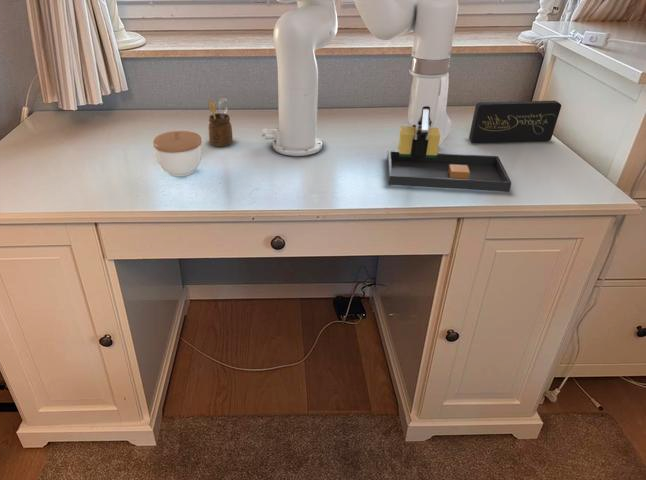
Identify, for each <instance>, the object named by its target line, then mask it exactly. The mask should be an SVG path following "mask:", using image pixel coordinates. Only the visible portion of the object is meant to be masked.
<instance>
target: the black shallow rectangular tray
mask: <svg viewBox="0 0 646 480" xmlns="http://www.w3.org/2000/svg"><path fill="white" fill-rule="evenodd" d="M386 161H387V163H386V164H387V182H388V183H387V184H388V186H403V187H419V188H438V189H452V190H453V189H454V190H469V191H470V190H471V191H486V192H487V191H489V192H504V193H505V192H506V193H507V192H508V193H509V192H510V190H511V186H512V181H511V179H510V177H509V175H508V173H507V170H506V169H505V167H504V165H503V163H502V160H501V159H500V156H498V155H483V154H482V155H481V154H480V155H479V154H462V153H461V154H460V153H441V152H438V153H437V158H427V157H425V158H417V157H402V156H399V150H387V158H386ZM449 164H454V165H467V166H468V168H469V171H470V175H469V179H460V178H450V176H449V172H448V168H449Z"/></svg>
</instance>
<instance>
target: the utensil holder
mask: <svg viewBox="0 0 646 480" xmlns="http://www.w3.org/2000/svg"><path fill="white" fill-rule="evenodd" d="M223 100H226V98H225V97H224V98H223V97H221V98H220V101H219V102H217V103H218V104H217V106H222V101H223ZM207 103H208V107H209V108H208V109H209V111H210V112H211V113H212V114H211V115H209V116H208V123H209V124H208V137H209V142H210V145H212V147H217V148H219V147H220V148H221V147H228V146H230V145H232V144H233V128H232V127H233V126H232V123H231V122H230V121H231V118H230V115H229V114H227V113H228V108H225V111H222V109H220V108H217V109H218V113H216V112H217V110H216V106H215V103H214V100H213V99H212V100H211V99H207Z"/></svg>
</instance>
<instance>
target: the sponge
mask: <svg viewBox="0 0 646 480" xmlns="http://www.w3.org/2000/svg"><path fill="white" fill-rule="evenodd" d="M419 130H421V128H418V131H419ZM414 136H415V127H412V126H405V125H404V126H403V125H402V126H400V131H399V139H398V149H397V150H398V151H399V156H402V157H411V149H412V141H413V139H414ZM439 141H440V133H439V129H438V128H435V127H429V135H428V146H427V153H426V157H427V158H437V153H439V147H440V146H439Z"/></svg>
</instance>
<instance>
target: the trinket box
mask: <svg viewBox="0 0 646 480" xmlns="http://www.w3.org/2000/svg"><path fill="white" fill-rule="evenodd" d="M202 142H203V141H202V137H201V135H200V134H199V133H197V132H195V131H189V130H173V131H168V132H163V133H161V134H158V135H157V136H155V137H154V138H153V140H152V145H153V147H154V153H155V157H156V161H157V162H158V164H159V165H160V167H161V168H162V169H163V170H164V171H165V172H167V173H168V175H170V176H171V177H179V178H180V177H181V178H182V177H187V176H191V175H192V174H194V173H195V171H196V169H197V168H198V167H199V165H200V163H201V161H202V155H203V147H202V145H203V144H202Z"/></svg>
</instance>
